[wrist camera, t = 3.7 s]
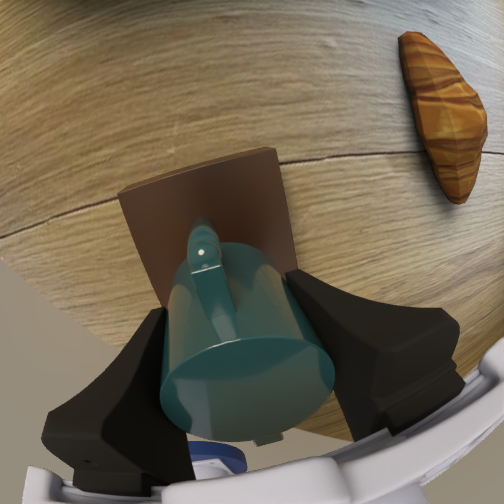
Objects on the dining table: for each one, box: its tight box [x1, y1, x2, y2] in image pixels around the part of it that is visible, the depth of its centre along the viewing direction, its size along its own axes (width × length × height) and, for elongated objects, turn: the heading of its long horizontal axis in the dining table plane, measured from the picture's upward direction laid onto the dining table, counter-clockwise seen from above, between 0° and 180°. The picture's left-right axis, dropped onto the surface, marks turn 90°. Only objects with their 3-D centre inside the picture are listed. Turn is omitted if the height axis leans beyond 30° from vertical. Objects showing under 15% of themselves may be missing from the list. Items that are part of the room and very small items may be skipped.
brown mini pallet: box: [117, 147, 298, 310], centre depth 16 cm, size 8×11×2 cm
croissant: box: [398, 31, 488, 205], centre depth 13 cm, size 14×7×5 cm, turn 27°
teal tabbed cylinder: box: [160, 216, 336, 446], centre depth 10 cm, size 5×8×6 cm
